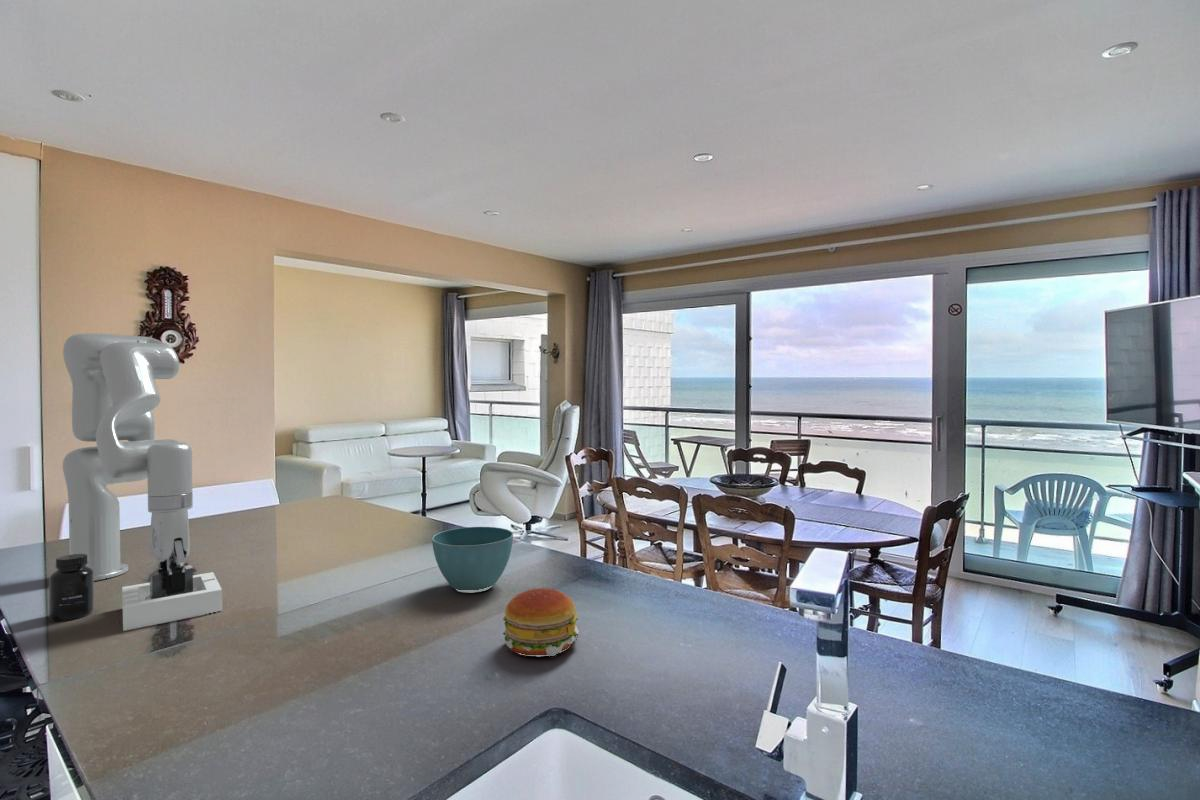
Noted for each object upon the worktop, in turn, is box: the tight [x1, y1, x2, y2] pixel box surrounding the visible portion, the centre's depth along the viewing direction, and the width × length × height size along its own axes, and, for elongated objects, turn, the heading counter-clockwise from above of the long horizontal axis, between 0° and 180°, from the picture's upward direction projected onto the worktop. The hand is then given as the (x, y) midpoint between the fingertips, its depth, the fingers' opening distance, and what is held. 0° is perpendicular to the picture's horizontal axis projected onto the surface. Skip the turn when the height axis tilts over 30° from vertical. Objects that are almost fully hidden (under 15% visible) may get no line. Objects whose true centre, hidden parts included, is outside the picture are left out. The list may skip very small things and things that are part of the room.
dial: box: [145, 564, 198, 600], centre depth 124 cm, size 9×9×7 cm
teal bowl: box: [431, 526, 514, 590], centre depth 137 cm, size 18×18×12 cm
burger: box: [502, 587, 580, 657], centre depth 106 cm, size 13×14×10 cm
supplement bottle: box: [48, 554, 95, 622], centre depth 121 cm, size 7×7×12 cm
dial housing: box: [121, 571, 223, 632], centre depth 124 cm, size 15×16×5 cm
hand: (171, 588), depth 124 cm, fingers open, 4 cm apart
